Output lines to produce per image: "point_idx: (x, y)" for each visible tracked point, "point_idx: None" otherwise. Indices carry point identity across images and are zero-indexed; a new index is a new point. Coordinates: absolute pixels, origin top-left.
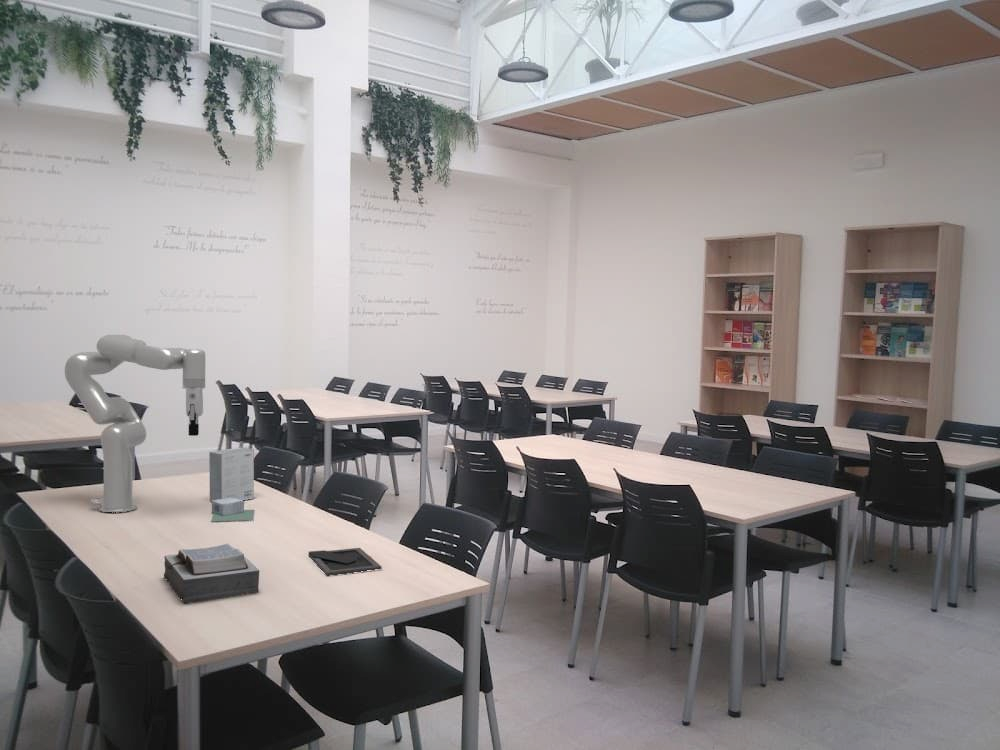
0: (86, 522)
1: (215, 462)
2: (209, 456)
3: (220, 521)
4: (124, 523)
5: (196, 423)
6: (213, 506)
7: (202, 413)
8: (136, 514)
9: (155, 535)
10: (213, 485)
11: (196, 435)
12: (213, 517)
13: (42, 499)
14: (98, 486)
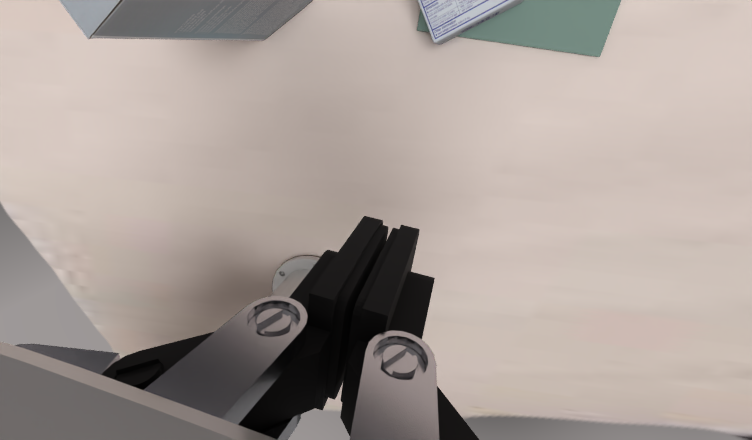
0: None
1: (173, 3)
2: (114, 37)
3: (614, 15)
4: (482, 302)
5: (432, 370)
6: (452, 36)
7: (78, 407)
8: None
9: (694, 254)
10: (241, 23)
11: (416, 241)
12: (535, 42)
13: None
14: (84, 295)
